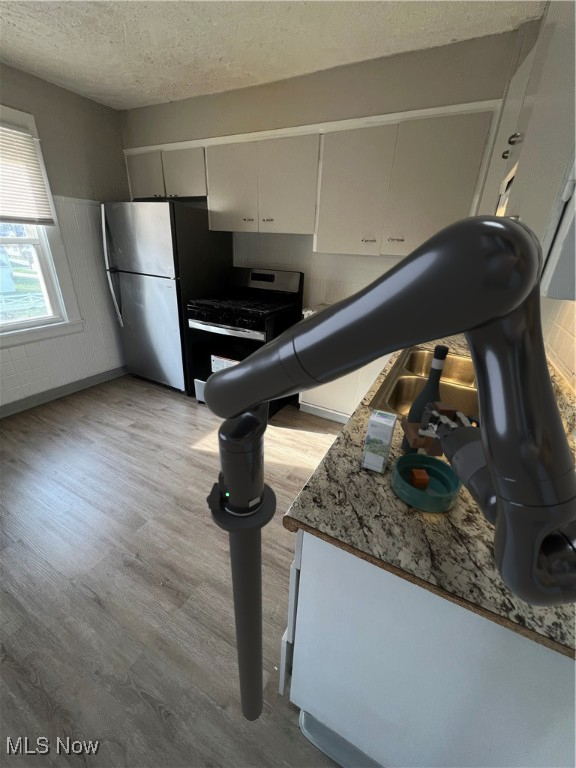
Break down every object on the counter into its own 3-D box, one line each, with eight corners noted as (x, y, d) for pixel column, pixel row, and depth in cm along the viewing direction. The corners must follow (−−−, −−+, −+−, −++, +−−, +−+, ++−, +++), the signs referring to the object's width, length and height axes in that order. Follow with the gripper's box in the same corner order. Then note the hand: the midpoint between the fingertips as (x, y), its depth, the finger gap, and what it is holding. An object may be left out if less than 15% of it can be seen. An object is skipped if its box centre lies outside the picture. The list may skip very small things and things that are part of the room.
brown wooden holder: (454, 457, 63) (469, 410, 59) (414, 455, 64) (426, 408, 59) (434, 427, 74) (446, 384, 69) (400, 424, 74) (409, 382, 70)
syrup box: (388, 461, 81) (398, 413, 75) (383, 475, 77) (393, 425, 70) (366, 454, 84) (374, 407, 78) (360, 467, 79) (368, 418, 73)
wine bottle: (437, 452, 86) (467, 347, 73) (422, 464, 81) (451, 354, 68) (410, 438, 91) (434, 339, 78) (395, 448, 86) (417, 345, 74)
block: (426, 488, 72) (429, 478, 71) (413, 487, 72) (416, 477, 71) (422, 479, 75) (424, 469, 74) (409, 478, 75) (412, 469, 74)
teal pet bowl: (398, 511, 67) (403, 493, 65) (384, 467, 79) (388, 451, 77) (467, 516, 66) (473, 499, 64) (442, 471, 79) (446, 455, 77)
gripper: (534, 445, 46) (478, 392, 62) (437, 438, 47) (406, 388, 62) (517, 484, 49) (467, 424, 65) (426, 477, 50) (399, 420, 66)
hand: (437, 407), depth 64 cm, fingers closed on brown wooden holder, 3 cm apart
